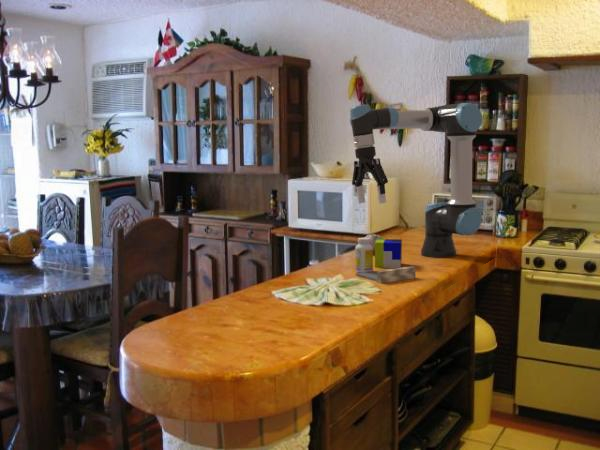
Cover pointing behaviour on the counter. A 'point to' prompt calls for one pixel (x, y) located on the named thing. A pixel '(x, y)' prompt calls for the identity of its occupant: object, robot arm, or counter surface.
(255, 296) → the counter surface
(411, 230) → the counter surface
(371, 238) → the decorative fruit
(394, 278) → the backstop rail
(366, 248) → the supplement bottle
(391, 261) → the puzzle toy
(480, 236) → the counter surface
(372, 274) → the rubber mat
